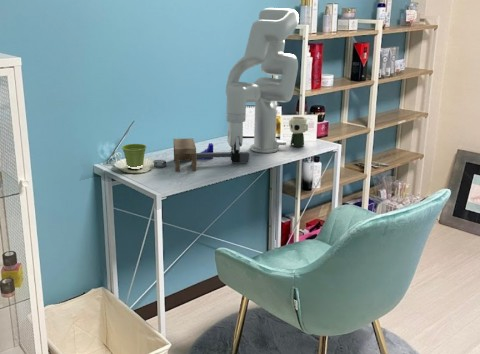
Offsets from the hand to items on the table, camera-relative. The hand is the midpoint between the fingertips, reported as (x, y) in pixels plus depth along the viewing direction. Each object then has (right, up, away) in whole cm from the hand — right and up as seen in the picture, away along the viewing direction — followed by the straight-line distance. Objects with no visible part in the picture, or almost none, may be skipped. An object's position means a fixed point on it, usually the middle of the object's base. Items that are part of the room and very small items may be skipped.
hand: (235, 161), depth 221 cm
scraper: (-5, -1, -1) cm, 6 cm away
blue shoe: (-16, +1, +8) cm, 17 cm away
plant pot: (-39, -3, -7) cm, 40 cm away
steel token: (-30, -2, -4) cm, 30 cm away
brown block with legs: (-20, -2, -3) cm, 20 cm away
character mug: (+28, +8, +27) cm, 40 cm away
